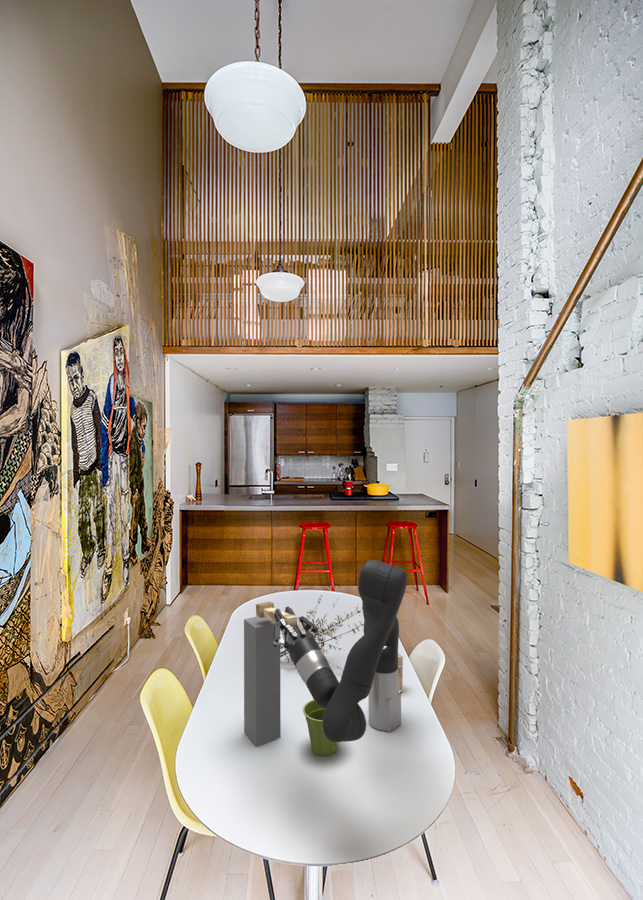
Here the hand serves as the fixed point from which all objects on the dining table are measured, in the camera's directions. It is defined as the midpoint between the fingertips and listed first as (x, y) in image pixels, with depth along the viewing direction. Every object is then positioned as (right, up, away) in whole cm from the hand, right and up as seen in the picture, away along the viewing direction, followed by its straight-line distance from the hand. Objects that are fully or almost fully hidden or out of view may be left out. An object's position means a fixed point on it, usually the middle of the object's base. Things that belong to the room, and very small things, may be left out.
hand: (281, 610), depth 126 cm
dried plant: (+13, -41, +56) cm, 71 cm away
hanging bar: (-1, -4, +2) cm, 4 cm away
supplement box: (+35, -41, +34) cm, 64 cm away
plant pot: (+12, -41, +4) cm, 43 cm away
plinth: (-7, -41, +10) cm, 42 cm away
